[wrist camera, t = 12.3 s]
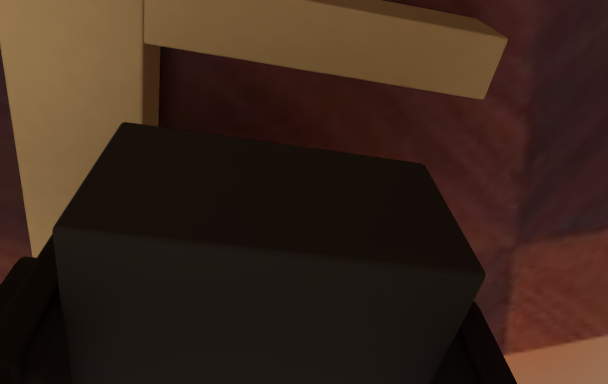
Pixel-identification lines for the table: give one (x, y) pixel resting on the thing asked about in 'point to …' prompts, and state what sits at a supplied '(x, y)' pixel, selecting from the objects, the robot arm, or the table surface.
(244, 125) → the table surface
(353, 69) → the socket pad
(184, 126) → the table surface
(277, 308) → the charcoal pad
